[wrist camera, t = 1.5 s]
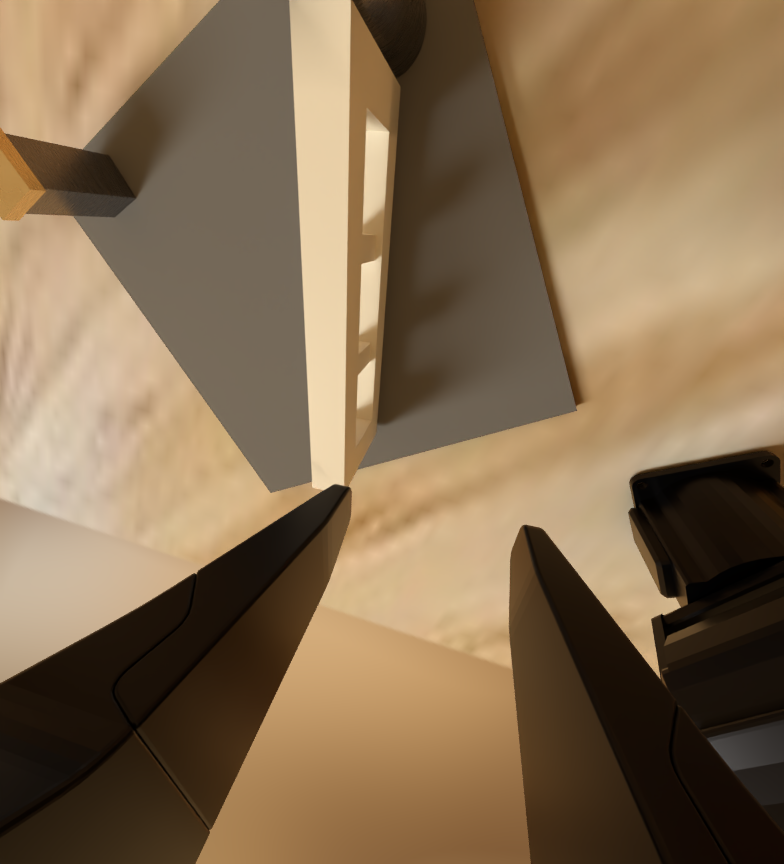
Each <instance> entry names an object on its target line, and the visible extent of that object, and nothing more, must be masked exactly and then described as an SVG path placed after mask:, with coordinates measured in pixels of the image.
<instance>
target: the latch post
mask: <svg viewBox="0 0 784 864" xmlns="http://www.w3.org/2000/svg"><path fill="white" fill-rule="evenodd" d="M135 199H136V196H135V195H134V193H133V192H132V190H131V189H130V187H129V185H128V184H127V182H126V181H125V179H124V178H123V176H122V174H121V173H120V171H119V170H118V168H117V167H116V165H115V163H114V162H113V160H112V159H111V157H110V156H109V155H106V154H101V153H96V152H91V151H86V150H82V149H77V148H72V147H67V146H62V145H58V144H53V143H48V142H43V141H38V140H34V139H29V138H24V137H19V136H14V135H10V134H5V133H4V132H3V131H2V129H1V128H0V217H1V218H2V220H16V221H19V220H20V219H21V218H22V217H23V216H24V215H25V214H44V215H68V216H92V217H116V216H117V215H118V214H119V213H120V212H122V211H123V210H124V209H125V208H126V207H127V206H128V205H130V204H131V203H132V202H133V201H134V200H135Z"/></svg>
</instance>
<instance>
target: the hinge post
mask: <svg viewBox="0 0 784 864" xmlns="http://www.w3.org/2000/svg"><path fill="white" fill-rule="evenodd" d="M352 1H353V2H354V4H355V6H356V8H357V10H358V11H359V13H360V15H361V17H362V19H363V20H364V22H365V24H366V26H367V27H368V29H369V31H370V33H371V35H372V36H373V38H374V40H375V42H376V44H377V45H378V47H379V49H380V51H381V53H382V54H383V56H384V58H385V60H386V62H387V63H388V65H389V67H390V69H391V71H392V72H393V74H394V76H395V78H397V77H399V76H401V75H402V74H404V73H405V72H406V71H407V70H408V69H409V68H410V67H411V66H412V64H413V63H414V62H415V60H416V58H417V57H418V55H419V53H420V50H421V48H422V45H423V42H424V38H425V33H426V25H427V10H426V3H425V0H352Z"/></svg>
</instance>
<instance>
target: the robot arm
mask: <svg viewBox="0 0 784 864" xmlns="http://www.w3.org/2000/svg"><path fill="white" fill-rule="evenodd" d="M767 459H768V460H767ZM764 460H767V461H766V462H764V463H762V462H763V461H764ZM641 482H644V483H643V484H641V485H638V484H639V483H641ZM629 484H630V489H631V494H632V499H633V504H634V508H631V509H630V510H629V512H628V514H629V519H630V523H631V528H632V532H633V537H634V541H635V543H636V545H637V547H638V549H639V551H640V553H641V555H642V557H643V559H644V561H645V563H646V565H647V567H648V569H649V571H650V573H651V575H652V577H653V579H654V581H655V583H656V585H657V587H658V589H659V591H660V593H661V594H662V595H663V596H665V597H666V598H675V597H676V599H677V601H678V602H679V604H680V606H681V608H679V609H677V610H675V611H673V612H670V613H668V614H666V615H662V614H661V615H659V616H656V617H654V618H652V619H651V621H652V627H653V633H654V640H655V646H656V652H657V658H658V665H659V671H660V677H661V680H660V678H659V677H658V676H657V675H656V673H655V672H654V671H653V670H652V668H651V667H650V666H649V664H648V663H647V662H646V661H645V659H644V658H643V657H642V655H641V654H640V653H639V652H638V650H637V649H636V648H635V646H634V645H633V644H632V643H631V641H630V640H629V639H628V637H627V636H626V635H625V634H624V632H623V631H622V630H621V628H620V627H619V626H618V625H617V623H616V622H615V621H614V619H613V618H612V617H611V616H610V614H609V613H608V612H607V610H606V609H605V608H604V607H603V605H602V604H601V603H600V601H599V600H598V599H597V598H596V596H595V595H594V594H593V592H592V591H591V590H590V589H589V587H588V586H587V585H586V583H585V582H584V581H583V580H582V578H581V577H580V576H579V574H578V573H577V572H576V571H575V569H574V568H573V567H572V565H571V564H570V563H569V562H568V560H567V559H566V558H565V557H564V555H563V554H562V553H561V551H560V550H559V549H558V548H557V546H556V545H555V544H554V542H553V541H552V540H551V539H550V537H549V536H548V535H547V533H546V532H545V531H544V530H543V529H542V528H539V527H534V526H529V525H523V526H522V527H521V528H520V530H519V533H518V535H517V538H516V541H515V543H514V546H513V548H512V552H511V558H510V599H509V634H510V647H511V657H512V668H513V679H514V689H515V700H516V710H517V721H518V731H519V742H520V753H521V763H522V774H523V785H524V795H525V806H526V816H527V827H528V838H529V848H530V859H531V864H784V487H783V486H782V485H781V484H780V459H779V458H778V457H777V456H776V455H774V454H773V453H772V452H769V451H761V452H756V453H750V454H745V455H740V456H735V457H729V458H724V459H719V460H714V461H708V462H703V463H698V464H693V465H687V466H682V467H677V468H672V469H666V470H661V471H656V472H651V473H645V474H640V475H636V476H634V477H632V478H631V479H630V482H629ZM351 498H352V491H351V488H350V487H348V486H343V485H339V484H334V485H331V486H330V487H328V488H327V489H325V490H324V491H322V492H320V493H319V494H317V495H316V496H314V497H313V498H311V499H309V500H308V501H306V502H305V503H303V504H302V505H300V506H298V507H297V508H295V509H294V510H292V511H291V512H289V513H288V514H286V515H284V516H283V517H281V518H280V519H278V520H277V521H275V522H273V523H272V524H270V525H269V526H267V527H266V528H264V529H262V530H261V531H259V532H258V533H256V534H255V535H253V536H251V537H250V538H248V539H247V540H245V541H244V542H242V543H241V544H239V545H237V546H236V547H234V548H233V549H231V550H230V551H228V552H226V553H225V554H223V555H222V556H220V557H219V558H217V559H215V560H214V561H212V562H211V563H209V564H208V565H206V566H205V567H203V568H201V569H200V570H198V572H197V574H195V573H194V574H192V575H190V576H189V577H187V578H185V579H184V580H182V581H181V582H179V583H178V584H176V585H174V586H173V587H171V588H170V589H168V590H166V591H165V592H163V593H162V594H160V595H158V596H157V597H155V598H153V599H152V600H150V601H148V602H147V603H145V604H143V605H142V606H140V607H138V608H137V609H135V610H133V611H131V612H129V613H128V614H126V615H124V616H123V617H121V618H119V619H117V620H115V621H114V622H112V623H110V624H108V625H106V626H105V627H103V628H101V629H99V630H97V631H95V632H94V633H92V634H90V635H88V636H86V637H84V638H83V639H81V640H79V641H77V642H75V643H73V644H71V645H70V646H68V647H66V648H64V649H62V650H60V651H59V652H57V653H55V654H53V655H51V656H49V657H48V658H46V659H44V660H42V661H40V662H38V663H37V664H35V665H33V666H31V667H29V668H27V669H25V670H24V671H22V672H20V673H18V674H16V675H14V676H13V677H11V678H9V679H7V680H5V681H4V682H2V683H0V864H195V863H196V861H197V859H198V857H199V855H200V853H201V851H202V849H203V846H204V844H205V842H206V840H207V838H208V836H209V834H210V831H209V830H210V829H212V827H213V825H214V823H215V821H216V819H217V817H218V814H219V812H220V810H221V808H222V806H223V804H224V802H225V799H226V797H227V795H228V793H229V791H230V789H231V787H232V785H233V783H234V781H235V779H236V777H237V774H238V772H239V770H240V768H241V766H242V764H243V762H244V759H245V758H246V755H247V753H248V751H249V749H250V747H251V745H252V743H253V741H254V739H255V737H256V734H257V732H258V730H259V728H260V726H261V724H262V722H263V720H264V717H265V716H266V713H267V711H268V709H269V707H270V705H271V703H272V700H273V699H274V697H275V694H276V692H277V690H278V688H279V686H280V684H281V682H282V679H283V678H284V675H285V673H286V671H287V669H288V667H289V665H290V663H291V661H292V659H293V657H294V654H295V652H296V650H297V648H298V646H299V644H300V642H301V639H302V638H303V635H304V633H305V631H306V629H307V627H308V625H309V622H310V621H311V619H312V617H313V614H314V612H315V610H316V608H317V606H318V604H319V602H320V600H321V598H322V596H323V593H324V591H325V589H326V587H327V584H328V582H329V580H330V577H331V574H332V571H333V568H334V566H335V563H336V560H337V557H338V554H339V551H340V548H341V545H342V542H343V539H344V536H345V533H346V530H347V528H348V525H349V521H350V517H351Z"/></svg>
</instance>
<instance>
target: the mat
mask: <svg viewBox="0 0 784 864" xmlns="http://www.w3.org/2000/svg"><path fill="white" fill-rule="evenodd" d="M425 3H426V10H427V25H426V33H425V38H424V42H423V45H422V48H421V50H420V53H419V55H418V57H417V58H416V60H415V62H414V63H413V64H412V66H411V67H410V68H409V69H408V70H407V71H406V72H405V73H404V74H402V75H401V76H399V77H397V78H396V80H397V81H398V83H399V85H400V87H401V89H400V104H399V118H398V132H397V147H396V161H395V175H394V190H393V204H392V219H391V233H390V247H389V262H388V276H387V290H386V305H385V319H384V333H383V348H382V362H381V377H380V391H379V405H378V420H377V433H376V435H375V437H374V439H373V440H372V442H371V444H370V446H369V448H368V450H367V452H366V454H365V456H364V457H363V459H362V461H361V463H360V465H359V467H358V469H361V468H365V467H369V466H373V465H376V464H380V463H384V462H388V461H391V460H395V459H399V458H402V457H406V456H410V455H414V454H417V453H421V452H425V451H429V450H432V449H436V448H440V447H444V446H447V445H451V444H455V443H458V442H462V441H466V440H470V439H473V438H477V437H481V436H485V435H488V434H492V433H496V432H499V431H503V430H507V429H511V428H514V427H518V426H522V425H526V424H529V423H533V422H537V421H541V420H544V419H548V418H552V417H555V416H559V415H563V414H567V413H570V412H574V411H577V409H576V405H575V401H574V397H573V393H572V389H571V385H570V381H569V377H568V373H567V369H566V365H565V361H564V357H563V353H562V349H561V345H560V341H559V337H558V334H557V330H556V326H555V322H554V318H553V314H552V310H551V306H550V302H549V298H548V294H547V290H546V286H545V282H544V278H543V274H542V270H541V266H540V262H539V258H538V254H537V250H536V246H535V242H534V238H533V234H532V230H531V226H530V222H529V218H528V214H527V210H526V206H525V203H524V199H523V195H522V191H521V187H520V183H519V179H518V175H517V171H516V167H515V163H514V159H513V155H512V151H511V147H510V143H509V139H508V135H507V131H506V127H505V123H504V119H503V115H502V111H501V107H500V103H499V99H498V95H497V91H496V87H495V83H494V79H493V75H492V72H491V68H490V64H489V60H488V56H487V52H486V48H485V44H484V40H483V36H482V32H481V28H480V24H479V20H478V16H477V12H476V8H475V4H474V0H425ZM83 150H86V151H91V152H96V153H101V154H106V155H109V156H110V157H111V159H112V160H113V162H114V163H115V165H116V167H117V168H118V170H119V171H120V173H121V174H122V176H123V178H124V179H125V181H126V182H127V184H128V185H129V187H130V189H131V190H132V192H133V193H134V195H135V196H136V199H135V200H134V201H133V202H132V203H131V204H130V205H128V206H127V207H126V208H125V209H124V210H123V211H122V212H120V213H119V214H118V215H117V216H116V217H92V216H74V218H75V219H76V221H77V222H78V223H79V225H80V226H81V228H82V229H83V230H84V232H85V233H86V235H87V236H88V237H89V239H90V240H91V242H92V243H93V244H94V246H95V247H96V249H97V250H98V251H99V253H100V254H101V256H102V257H103V258H104V260H105V261H106V263H107V264H108V265H109V267H110V268H111V270H112V271H113V272H114V274H115V275H116V277H117V278H118V279H119V281H120V282H121V284H122V285H123V286H124V288H125V289H126V291H127V292H128V293H129V295H130V296H131V298H132V299H133V300H134V302H135V303H136V305H137V306H138V307H139V309H140V310H141V312H142V313H143V314H144V316H145V317H146V319H147V320H148V321H149V323H150V324H151V326H152V327H153V328H154V330H155V331H156V333H157V334H158V335H159V337H160V338H161V340H162V341H163V342H164V344H165V345H166V347H167V348H168V349H169V351H170V352H171V354H172V355H173V356H174V358H175V359H176V361H177V362H178V364H179V365H180V366H181V368H182V369H183V371H184V372H185V373H186V375H187V376H188V378H189V379H190V380H191V382H192V383H193V385H194V386H195V387H196V389H197V390H198V392H199V393H200V394H201V396H202V397H203V399H204V400H205V401H206V403H207V404H208V406H209V407H210V408H211V410H212V411H213V413H214V414H215V415H216V417H217V418H218V420H219V421H220V422H221V424H222V425H223V427H224V428H225V429H226V431H227V432H228V434H229V435H230V436H231V438H232V439H233V441H234V442H235V443H236V445H237V446H238V448H239V449H240V450H241V452H242V453H243V455H244V456H245V457H246V459H247V460H248V462H249V463H250V464H251V466H252V467H253V469H254V470H255V471H256V473H257V474H258V476H259V477H260V478H261V480H262V481H263V483H264V484H265V485H266V487H267V488H268V490H269V491H270V492H271V493H272V492H276V491H279V490H283V489H287V488H291V487H294V486H298V485H302V484H305V483H309V482H312V469H311V448H310V427H309V406H308V385H307V364H306V343H305V322H304V301H303V280H302V259H301V238H300V217H299V196H298V175H297V154H296V133H295V112H294V91H293V70H292V49H291V28H290V7H289V0H220V1H219V2H218V3H217V4H216V5H215V6H214V7H213V8H212V9H211V10H210V11H209V12H208V14H207V15H206V16H205V17H204V18H203V19H202V20H201V21H200V22H199V23H198V24H197V26H196V27H195V28H194V29H193V30H192V31H191V32H190V33H189V34H188V35H187V36H186V38H185V39H184V40H183V41H182V42H181V43H180V44H179V45H178V46H177V47H176V48H175V49H174V51H173V52H172V53H171V54H170V55H169V56H168V57H167V58H166V59H165V60H164V61H163V63H162V64H161V65H160V66H159V67H158V68H157V69H156V70H155V71H154V72H153V73H152V75H151V76H150V77H149V78H148V79H147V80H146V81H145V82H144V83H143V84H142V85H141V87H140V88H139V89H138V90H137V91H136V92H135V93H134V94H133V95H132V96H131V97H130V98H129V100H128V101H127V102H126V103H125V104H124V105H123V106H122V107H121V108H120V109H119V110H118V112H117V113H116V114H115V115H114V116H113V117H112V118H111V119H110V120H109V121H108V122H107V124H106V125H105V126H104V127H103V128H102V129H101V130H100V131H99V132H98V133H97V134H96V136H95V137H94V138H93V139H92V140H91V141H90V142H89V143H88V144H87V145H86V146H85V147H84V149H83ZM358 469H357V470H358Z"/></svg>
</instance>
